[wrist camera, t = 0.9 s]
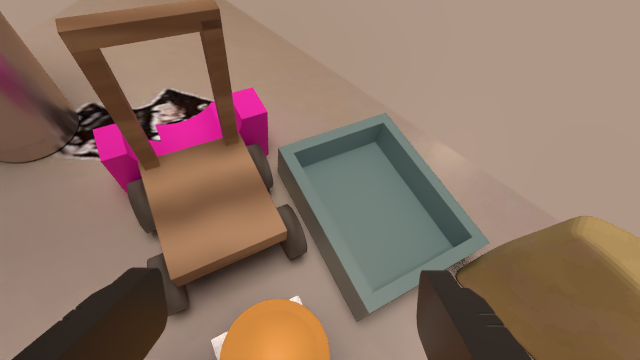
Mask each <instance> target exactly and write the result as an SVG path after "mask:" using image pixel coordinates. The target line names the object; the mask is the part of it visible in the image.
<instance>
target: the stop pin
mask: <svg viewBox="0 0 640 360" xmlns="http://www.w3.org/2000/svg"><path fill="white" fill-rule="evenodd" d="M219 360H330V350H329V343H328V340H327V336H326V333H325V331H324V329H323V327H322V325H321V323H320V322H319V320H318V319H317V318H316V316H315V315H314V314H313V313H312V312H311V311H310V310H308V309H307V308H306V307H304V306H303V305H301V304H299V303H297V302H294V301H291V300H286V299H271V300H266V301H263V302H260V303H258V304H255V305H254V306H252V307H250V308H249V309H247V310H246V311H245V312H243V313H242V314H241V315H240V316H239V317H238V318H237V319H236V321H235V322H234V323H233V324H232V326H231V327H230V329H229V331H228V333H227V335H226V337H225V339H224V342H223V344H222V348H221V352H220V358H219Z"/></svg>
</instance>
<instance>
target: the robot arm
mask: <svg viewBox="0 0 640 360" xmlns="http://www.w3.org/2000/svg"><path fill="white" fill-rule="evenodd" d="M78 124H79V119H78V115H77V113H76V111H75V110H74V108H73V107H72V106H71V105H70V103H69V102H68V101H67V99H66V98H65V97H64V95H63V94H62V93H61V91H60V90H59V89H58V87H57V86H56V84H55V83H54V82H53V80H52V79H51V78H50V77H49V75H48V74H47V73H46V71H45V70H44V69H43V67H42V66H41V65H40V63H39V62H38V61H37V59H36V58H35V57H34V55H33V54H32V53H31V51H30V50H29V49H28V48H27V46H26V45H25V44H24V42H23V41H22V40H21V38H20V37H19V36H18V35H17V33H16V32H15V30H14V29H13V28H12V26H11V25H10V24H9V22H8V21H7V20H6V19H5V17H4V16H3V15H2V13H1V12H0V161H3V162H12V163H15V162H26V161H32V160H36V159H39V158H42V157H45V156H47V155H49V154H51V153H53V152H55V151H57V150H58V149H60V148H61V147H63V146H64V145H65V144H66V143H68V142H69V141H70V140H71V138H72V137H73V136H74V134H75V133H76V131H77V128H78ZM167 318H168V309H167V303H166V297H165V290H164V284H163V277H162V273H161V271H160V269H158V268H130V269H129V270H127V271H126V272H125V273H124V274H122V275H121V276H120V277H119V278H118V279H117V280H115V281H114V282H113V283H112V284H110V285H108V286H106V287H105V288H103V289H101V290H99V291H97V292H95V293H93V294H91V295H90V296H89V297H88V298H87V299H85V300H84V301H83V302H82V303H80V304H79V305H78V306H77V307H76V309H75V310H72V311H71V312H69V313H68V314H67V315H66V316H64V317H63V320H62V321H58V322H57V323H56V324H55V325H53V326H52V327H51V328H50V329H49V330H47V331H46V332H45V333H44V334H42V335H41V336H40V337H39V338H37V339H36V340H35V341H34V342H33V343H31V344H30V345H29V346H28V347H26V348H25V349H24V350H23V351H22V352H20V353H19V354H18V355H17V356H15V357H14V358H13V359H12V360H143V359H144V358H145V357H146V355H147V354H148V352H149V351H150V350H151V348H152V347H153V345H154V344H155V343H156V341H157V340H158V338H159V337H160V336H161V334H162V333H163V331H164V329H165V326H166V323H167ZM417 328H418V333H419V337H420V340H421V342H422V345H423V348H424V350H425V353H426V356H427V358H428V360H532V359H531V358H530V357H529V356H528V354H527V353H526V352H525V350H524V349H523V348H522V347H521V345H520V344H519V343H518V341H517V340H516V339H515V338H514V336H513V335H512V334H511V332H510V331H509V330H508V329H507V327H504V323H503V322H502V321H501V320H500V318H499V317H498V316H497V315H495V312H494V311H493V309H492V308H491V307H490V305H489V304H488V303H487V302H486V300H485V299H484V298H482V297H481V296H479V295H478V294H477V293H475V292H474V291H472V290H471V289H469V288H461V287H460V286H459V285H458V283H457V282H456V280H455V279H454V277H453V276H452V275H451V273H450V272H449V271H447V270H422V271H421V273H420V278H419V291H418V303H417Z"/></svg>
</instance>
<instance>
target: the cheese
mask: <svg viewBox="0 0 640 360" xmlns="http://www.w3.org/2000/svg"><path fill="white" fill-rule="evenodd" d="M457 280H458V282H459V283H460V284H461V285H462V286H463V287H464V288H469V289H471V290H472V291H474V292H475V293H477V294H478V295H479V296H481V297H482V298H484V299H485V300H486V302H487V303H488V304H489V305H490V307H491V308H492V309H493V311H494V312H495V315H497V316H498V317H499V318H500V320H501V321H502V322H503V323H504V327H507V329H508V330H509V331H510V332H511V334H512V335H513V336H514V338H515V339H516V340H517V341H518V342H519V343H520V344H521V345H522V346H523V347H524V348H525V349H526V350H527V351H528V352H529V353H530V354H531V355H532V356H533V357H534V358H535V359H536V360H640V238H639V237H636V236H635V235H633V234H631V233H629V232H627V231H625V230H624V229H622V228H619V227H618V226H615V225H613V224H611V223H609V222H607V221H604V220H602V219H599V218H596V217H592V216H579V217H575V218H572V219H569V220H567V221H564V222H561V223H559V224H556V225H553V226H551V227H548V228H545V229H543V230H540V231H537V232H534V233H531V234H529V235H526V236H523V237H520V238H518V239H515V240H512V241H510V242H508V243H505V244H503V245H501V246H499V247H497V248H495V249H493V250H491V251H489V252H487V253H485V254H484V255H482V256H480V257H479V258H477V259H475V260H473V261H472V262H470V263H468V264H467V265H465V266H463V267H462V268H461V269H460V270H459V272H458V274H457Z"/></svg>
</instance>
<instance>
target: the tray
mask: <svg viewBox="0 0 640 360" xmlns="http://www.w3.org/2000/svg"><path fill="white" fill-rule="evenodd" d="M278 173H279V175H280V177H281V179H282V180H283V182H284V184H285V186H286V188H287V190H288V192H289V194H290V196H291V198H292V199H293V201H294V203H295V205H296V207H297V209H298V211H299V213H300V215H301V217H302V219H303V220H304V222H305V224H306V226H307V228H308V230H309V232H310V234H311V236H312V238H313V239H314V241H315V243H316V245H317V247H318V249H319V251H320V253H321V255H322V257H323V259H324V260H325V262H326V264H327V266H328V268H329V270H330V272H331V274H332V276H333V278H334V279H335V281H336V283H337V285H338V287H339V289H340V291H341V293H342V295H343V297H344V299H345V300H346V302H347V304H348V306H349V308H350V310H351V312H352V314H353V316H354V318H355V319H356V321H359V320H360V319H362V318H364V317H365V316H367V315H369V314H370V313H372V312H374V311H376V310H377V309H379V308H381V307H382V306H384V305H386V304H387V303H389V302H391V301H393V300H394V299H396V298H398V297H399V296H401V295H403V294H404V293H406V292H408V291H410V290H411V289H413V288H415V287H416V286H418V285H419V278H420V273H421V271H422V270H445V269H447V268H449V267H450V266H452V265H454V264H456V263H457V262H459V261H461V260H462V259H464V258H466V257H467V256H469V255H471V254H472V253H474V252H476V251H477V250H479V249H481V248H482V247H484V246H486V245H487V244H489V243H490V242H489V241H488V240H487V239H486V237H485V236H484V235H483V234H482V232H481V231H480V230H479V229H478V227H477V226H476V225H475V224H474V222H473V221H472V220H471V219H470V217H469V216H468V215H467V214H466V212H465V211H464V210H463V209H462V207H461V206H460V205H459V204H458V202H457V201H456V200H455V199H454V197H453V196H452V195H451V194H450V192H449V191H448V190H447V189H446V187H445V186H444V185H443V184H442V182H441V181H440V180H439V179H438V177H437V176H436V175H435V174H434V172H433V171H432V170H431V169H430V167H429V166H428V165H427V164H426V162H425V161H424V160H423V159H422V157H421V156H420V155H419V154H418V152H417V151H416V150H415V149H414V147H413V146H412V145H411V144H410V142H409V141H408V140H407V139H406V137H405V136H404V135H403V134H402V132H401V131H400V130H399V129H398V127H397V126H396V125H395V124H394V122H393V121H392V120H391V119H390V117H389V116H388V115H387V114H386V113H384V114H381V115H378V116H375V117H372V118H369V119H366V120H363V121H360V122H357V123H354V124H350V125H347V126H344V127H341V128H338V129H335V130H332V131H329V132H326V133H323V134H320V135H317V136H313V137H310V138H307V139H304V140H301V141H298V142H295V143H292V144H289V145H286V146H283V147H279V148H278Z"/></svg>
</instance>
